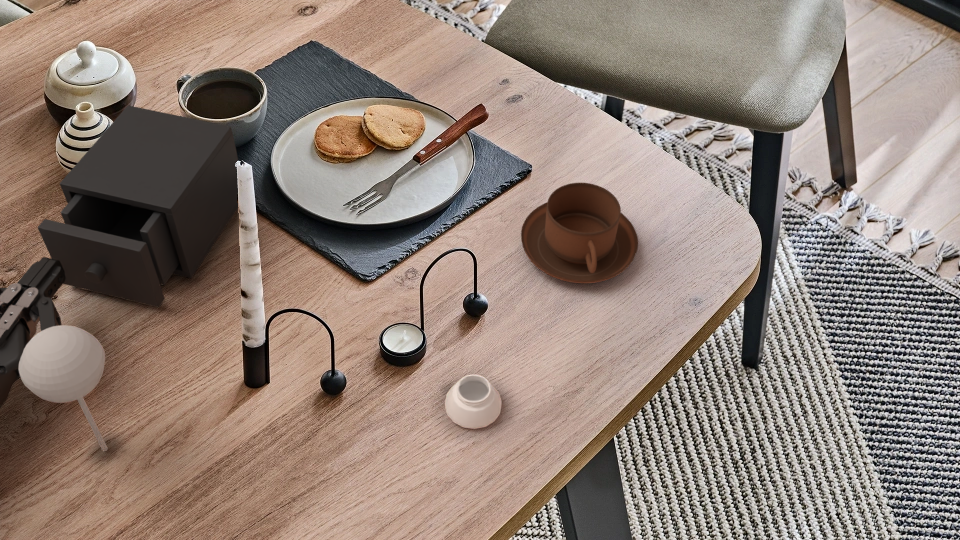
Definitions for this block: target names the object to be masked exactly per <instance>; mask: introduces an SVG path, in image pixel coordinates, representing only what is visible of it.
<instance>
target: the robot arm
mask: <svg viewBox="0 0 960 540" xmlns="http://www.w3.org/2000/svg"><path fill="white" fill-rule="evenodd" d="M65 278H66V277H65V271H64V269H63V267H62V264H61V262H60V261H59V260H55V259H51V257H47V256H43V257H41V258H40V260H39V261H38V260H37V261H35V262H33V264H31V265H30V266H29V268H28V269H27V270H26V272H25V273H24V274H23V275H22V276H21V278H20V279H19V280H18V281H17V282H15V283H11V284H9V285H8V286H7V287H0V409H1V408H2V407H3V406H4V404H5V403H6V402H7V400H8V399H9V397H10V393H11V391H12V388H13V386H14V384H15V383H16V382H17V381H19V380H20V379H21V377H20V373H19V362H20V358H21V356H22V354H23V351H24V348H25V347H26V345H27V344H28V342H29V341H30V340H31V339H32V338H33V337H34V336H35V335H36V334H37V329H38V324H40V332H41V331H43V330H45V329H47V328H50V327H53V326H61V325H62V320H61V319H62V318H61V316H60V314H59V311H58V309H57V308H56V307H57V306H56V305H55V303H54V301H53V299H52V298H53V297H54V296H55V295H56V293H57V292H58V291H59V290H60V288H61V287H62V286H63V285H64V284H63V283H64V282H65Z"/></svg>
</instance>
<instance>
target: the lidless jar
mask: <svg viewBox="0 0 960 540" xmlns="http://www.w3.org/2000/svg"><path fill="white" fill-rule="evenodd" d="M502 404H503V402H502V398H501V394H500V392H499V391H498V390H497V389H496V388H495V386H494V385H493V384H492V383H491V382H490V381H489V380H488V379H487V378H486V377H484V376H483V375H480V374H475V373H474V374H467V375H464V376H463V377H461V378H460V379H459V380H458V381H456V382H455V383H454V384H453V385H452V386H451V388H449V390H448V391H447V393H446V395H445V400H444V408H445V411H446V415H447V416H448V418H449V419H450V420H451V421H452V422H453V423H455V424H456V425H458V426H459V427H462V428H465V429H472V430H477V429H481V428H486V427H488V426H489V425H491V424H492V423H495V421H496V420H497V419H498V417H499V416H500V414H501V411H502V406H503V405H502Z"/></svg>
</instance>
